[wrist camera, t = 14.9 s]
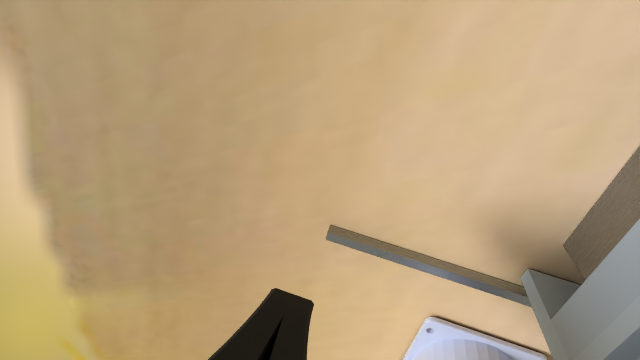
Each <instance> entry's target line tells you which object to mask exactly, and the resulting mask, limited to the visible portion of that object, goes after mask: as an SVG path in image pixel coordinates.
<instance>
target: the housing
mask: <svg viewBox="0 0 640 360" xmlns="http://www.w3.org/2000/svg"><path fill="white" fill-rule="evenodd" d="M521 281H522V283H523V286H524V288H525V291H526V293H527V296H528V298H529V300H530V303H531V305H532V308H533V310H534V313H535V315H536V318H537V320H538V323H539V325H540V327H541V330H542V332H543V335H544V337H545V340H546V342H547V345H548V347H549V350H550V352H551V354H552V357H553V359H554V360H640V219H639V220H638V221H637V222H636V223H635V225H634V226H633V227H632V228H631V229H630V230H629V231H628V232H627V234H626V235H625V236H624V237H623V238H622V239H621V240H620V242H619V243H618V244H617V245H616V246H615V247H614V248H613V250H612V251H611V252H610V253H609V254H608V255H607V256H606V258H605V259H604V260H603V261H602V262H601V263H600V264H599V266H598V267H597V268H596V269H595V270H594V271H593V272H592V273H591V275H590V276H589V277H588V278H587V279H586V280H585V281H584V283H583V284H582V285H578V284H575V283H572V282H569V281H566V280H563V279H559V278H556V277H553V276H550V275H547V274H543V273H540V272H537V271H534V270H531V269H528V268H527V270H526V271H525V273H524V274H523V275H522V277H521Z"/></svg>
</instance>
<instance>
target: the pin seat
mask: <svg viewBox="0 0 640 360" xmlns="http://www.w3.org/2000/svg"><path fill="white" fill-rule="evenodd" d="M639 219H640V146H639V147H638V149H637V150H636V151H635V153H634V154H633V155H632V156H631V158H630V159H629V160H628V162H627V163H626V164H625V166H624V167H623V168H622V169H621V171H620V172H619V173H618V175H617V176H616V177H615V179H614V180H613V181H612V183H611V184H610V185H609V186H608V188H607V189H606V190H605V192H604V193H603V194H602V196H601V197H600V198H599V199H598V201H597V202H596V203H595V205H594V206H593V207H592V209H591V210H590V211H589V212H588V214H587V215H586V216H585V218H584V219H583V220H582V222H581V223H580V224H579V225H578V227H577V228H576V229H575V231H574V232H573V233H572V235H571V236H570V237H569V238H568V240H567V241H566V242H565V244H564V245H563V246H564V248H565V249H566V251H567V252H568V254H569V255H570V257H571V259H572V260H573V262H574V263H575V265H576V266H577V268H578V269H579V271H580V273H581V274H582V276H583V277H584V279H585V280H586V279H587V278H588V277H589V276H590V275H591V273H592V272H593V271H594V270H595V269H596V268H597V267H598V266H599V264H600V263H601V262H602V261H603V260H604V259H605V258H606V256H607V255H608V254H609V253H610V252H611V251H612V250H613V248H614V247H615V246H616V245H617V244H618V243H619V242H620V240H621V239H622V238H623V237H624V236H625V235H626V234H627V232H628V231H629V230H630V229H631V228H632V227H633V226H634V225H635V223H636V222H637V221H638V220H639ZM326 240H329V241H332V242H335V243H338V244H341V245H344V246H347V247H350V248H353V249H356V250H359V251H362V252H365V253H368V254H371V255H374V256H377V257H380V258H384V259H387V260H390V261H393V262H396V263H399V264H402V265H405V266H408V267H411V268H414V269H417V270H420V271H423V272H426V273H429V274H432V275H435V276H438V277H442V278H445V279H448V280H451V281H454V282H457V283H460V284H463V285H466V286H469V287H472V288H475V289H478V290H481V291H484V292H487V293H490V294H493V295H496V296H500V297H503V298H506V299H509V300H512V301H515V302H518V303H521V304H524V305H527V306H530V307H532V305H531V303H530V300H529V298H528V296H527V293H526V291H525V288H524V287H522V286H519V285H516V284H512V283H509V282H506V281H503V280H500V279H497V278H494V277H491V276H488V275H485V274H481V273H478V272H475V271H472V270H469V269H466V268H463V267H460V266H457V265H453V264H450V263H447V262H444V261H441V260H438V259H435V258H432V257H429V256H425V255H422V254H419V253H416V252H413V251H410V250H407V249H404V248H401V247H397V246H394V245H391V244H388V243H385V242H382V241H379V240H376V239H373V238H370V237H366V236H363V235H360V234H357V233H354V232H351V231H348V230H345V229H342V228H338V227H335V226H332V225H330V227H329V230H328V233H327V236H326Z"/></svg>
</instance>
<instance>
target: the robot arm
mask: <svg viewBox="0 0 640 360" xmlns="http://www.w3.org/2000/svg"><path fill="white" fill-rule="evenodd" d="M313 306H314V304H313V302H312V301H311V300H308V299H305V298H302V297H300V296H297V295H294V294H291V293H288V292H285V291H283V290H280V289H277V288H274V289H272V290H271V291H270V293H269V294H268V296H267V297H266V298H265V300H264V301H263V302H262V303H261V305H260V306H259V307H258V308H257V309H256V311H255V312H254V313H253V314H252V315H251V316H250V317H249V319H248V320H247V321H246V322H245V323H244V324H243V325H242V326H241V327H240V328H239V329H238V330H237V331H236V332H235V333H234V334H233V336H232V337H231V338H230V339H229V340H228V341H227V342H226V343H225V344H224V345H223V346H222V347H221V348H220V349H218V350H217V351H216V352H215V353H214V354H213V355H212V356H211V357H210V358H209V359H208V360H307V343H308V333H309V325H310V319H311V314H312V310H313ZM429 328H432V329H429ZM403 360H547V357H546V356H545V355H543V354H541V353H538V352H535V351H532V350H529V349H526V348H523V347H520V346H518V345H515V344H512V343H509V342H506V341H503V340H500V339H497V338H494V337H491V336H488V335H485V334H482V333H480V332H477V331H474V330H471V329H468V328H465V327H462V326H459V325H456V324H453V323H450V322H447V321H445V320H442V319H439V318H436V317H428V318H426V319H425V321H424V323H423V325H422V326H421V328H420V330H419V332H418V333H417V335H416V337H415V339H414V340H413V342H412V344H411V346H410V347H409V349H408V351H407V353H406V354H405V356H404V358H403Z"/></svg>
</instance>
